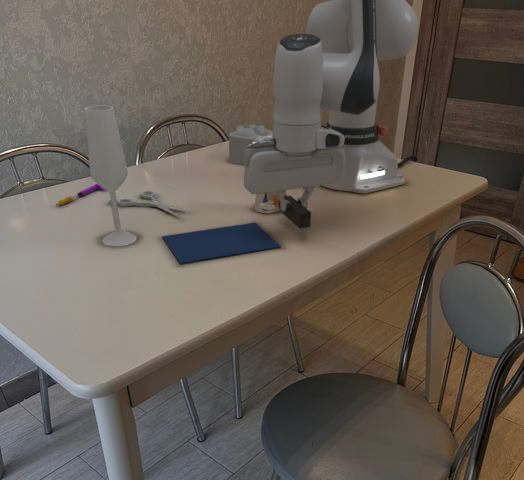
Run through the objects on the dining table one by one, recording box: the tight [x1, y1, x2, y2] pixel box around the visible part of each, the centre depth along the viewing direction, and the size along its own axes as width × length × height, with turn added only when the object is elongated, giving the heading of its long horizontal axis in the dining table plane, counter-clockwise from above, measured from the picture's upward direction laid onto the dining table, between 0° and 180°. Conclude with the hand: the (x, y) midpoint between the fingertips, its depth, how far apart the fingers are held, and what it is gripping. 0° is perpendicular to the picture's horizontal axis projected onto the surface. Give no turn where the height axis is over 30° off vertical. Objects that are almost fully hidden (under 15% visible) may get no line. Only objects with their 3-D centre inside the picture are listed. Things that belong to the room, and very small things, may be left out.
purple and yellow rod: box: [56, 183, 106, 206], centre depth 125 cm, size 3×1×16 cm
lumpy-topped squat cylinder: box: [228, 124, 272, 166], centre depth 151 cm, size 10×13×9 cm
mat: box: [161, 222, 282, 265], centre depth 104 cm, size 20×13×1 cm, turn 113°
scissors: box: [108, 190, 190, 218], centre depth 120 cm, size 11×1×20 cm
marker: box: [273, 194, 312, 230], centre depth 107 cm, size 14×3×3 cm, turn 21°
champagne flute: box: [84, 104, 137, 247], centre depth 98 cm, size 7×7×24 cm
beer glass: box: [253, 135, 280, 214], centre depth 116 cm, size 7×7×15 cm
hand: (293, 209), depth 106 cm, fingers closed on marker, 2 cm apart
